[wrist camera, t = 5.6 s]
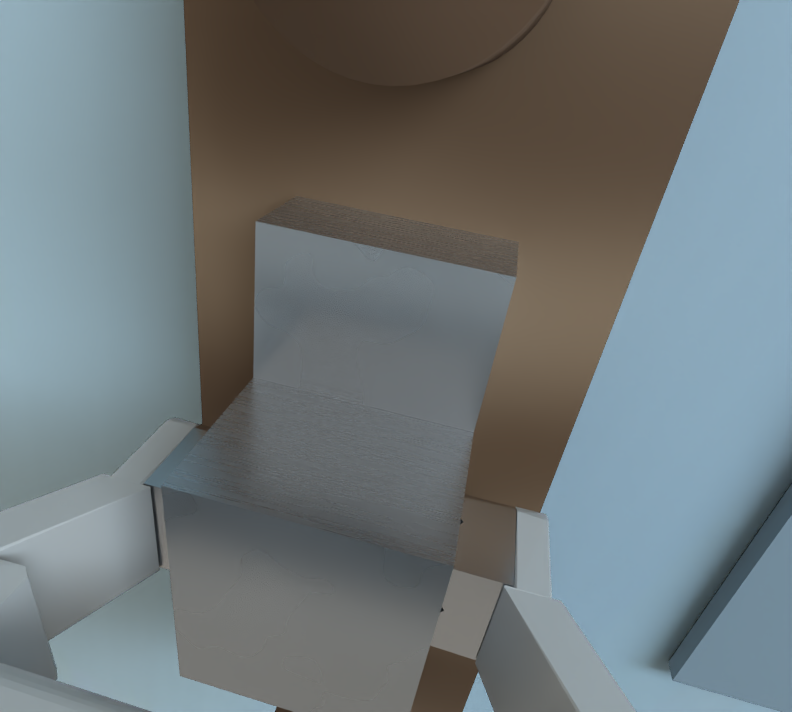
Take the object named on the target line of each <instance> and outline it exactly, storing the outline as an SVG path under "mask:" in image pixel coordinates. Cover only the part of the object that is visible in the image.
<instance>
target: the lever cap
mask: <svg viewBox="0 0 792 712" xmlns="http://www.w3.org/2000/svg"><path fill="white" fill-rule="evenodd" d="M518 245H519V242H516V241H511V240H506V239H501V238H497V237H492V236H487V235H482V234H477V233H472V232H468V231H463V230H458V229H453V228H448V227H444V226H439V225H434V224H429V223H424V222H419V221H415V220H410V219H405V218H400V217H395V216H391V215H386V214H381V213H376V212H371V211H366V210H362V209H357V208H352V207H347V206H342V205H338V204H333V203H328V202H323V201H318V200H313V199H309V198H304V197H299V196H296V197H294V198H293V199H291V200H289V201H288V202H286V203H285V204H283V205H281V206H280V207H278V208H276V209H275V210H273V211H272V212H270V213H268V214H267V215H265V216H263V217H262V218H260V219H259V220H257V221H256V228H255V296H254V365H253V378H252V380H251V381H250V382H249V383H248V384H247V386H246V387H245V388H244V389H243V390H242V391H241V393H240V394H239V395H238V396H237V397H236V398H235V400H234V401H233V402H232V403H231V404H230V405H229V407H228V408H227V409H226V410H225V411H224V413H223V414H222V415H221V416H220V417H219V418H218V420H217V421H216V422H215V423H214V424H213V425H212V427H211V428H210V429H209V430H208V431H207V432H206V434H205V435H204V436H203V437H202V438H201V440H200V441H199V442H198V443H197V444H196V445H195V447H194V448H193V449H192V450H191V451H190V452H189V454H188V455H187V456H186V457H185V458H184V460H183V461H182V462H181V463H180V464H179V465H178V467H177V468H176V469H175V470H174V471H173V472H172V474H171V475H170V476H169V477H168V478H167V479H166V481H165V482H164V483H163V484H162V485H161V489H162V499H163V509H164V519H165V529H166V539H167V549H168V559H169V569H170V579H171V590H172V600H173V610H174V620H175V630H176V640H177V650H178V660H179V670H180V676H182V677H185V678H189V679H192V680H195V681H198V682H201V683H204V684H207V685H211V686H214V687H217V688H220V689H223V690H226V691H230V692H233V693H236V694H239V695H242V696H245V697H248V698H252V699H255V700H258V701H261V702H264V703H267V704H271V705H274V706H277V707H280V708H283V709H286V710H289V711H293V712H410V711H411V708H412V705H413V701H414V698H415V695H416V691H417V688H418V684H419V681H420V678H421V674H422V671H423V668H424V664H425V661H426V658H427V654H428V651H429V648H430V644H431V641H432V638H433V634H434V631H435V628H436V624H437V621H438V618H439V614H440V611H441V608H442V604H443V601H444V598H445V594H446V591H447V587H448V584H449V581H450V577H451V574H452V571H453V567H454V561H455V555H456V548H457V541H458V535H459V528H460V521H461V515H462V508H463V501H464V495H465V488H466V481H467V475H468V468H469V461H470V454H471V448H472V441H473V434H474V430H475V426H476V423H477V419H478V415H479V412H480V408H481V404H482V401H483V397H484V393H485V390H486V386H487V383H488V379H489V375H490V372H491V368H492V364H493V361H494V357H495V354H496V350H497V346H498V343H499V339H500V335H501V332H502V328H503V324H504V321H505V317H506V314H507V310H508V306H509V303H510V299H511V295H512V292H513V288H514V285H515V281H516V277H517V261H518Z"/></svg>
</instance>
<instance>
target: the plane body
mask: <svg viewBox="0 0 792 712" xmlns="http://www.w3.org/2000/svg"><path fill="white" fill-rule="evenodd" d="M738 3H739V0H184V19H185V42H186V65H187V87H188V110H189V132H190V155H191V177H192V200H193V223H194V245H195V268H196V290H197V313H198V335H199V358H200V380H201V403H202V425H206V426H209V427H212V425H213V424H214V423H215V422H216V421H217V420H218V418H219V417H220V416H221V415H222V414H223V413H224V411H225V410H226V409H227V408H228V407H229V405H230V404H231V403H232V402H233V401H234V400H235V398H236V397H237V396H238V395H239V394H240V393H241V391H242V390H243V389H244V388H245V387H246V386H247V384H248V383H249V382H250V381H251V380H252V378H253V365H254V296H255V228H256V221H257V220H259V219H260V218H262V217H263V216H265V215H267V214H268V213H270V212H272V211H273V210H275V209H276V208H278V207H280V206H281V205H283V204H285V203H286V202H288V201H289V200H291V199H293V198H294V197H296V196H299V197H304V198H309V199H313V200H318V201H323V202H328V203H333V204H338V205H342V206H347V207H352V208H357V209H362V210H366V211H371V212H376V213H381V214H386V215H391V216H395V217H400V218H405V219H410V220H415V221H419V222H424V223H429V224H434V225H439V226H444V227H448V228H453V229H458V230H463V231H468V232H472V233H477V234H482V235H487V236H492V237H497V238H501V239H506V240H511V241H516V242H519V245H518V261H517V277H516V281H515V285H514V288H513V292H512V295H511V299H510V303H509V306H508V310H507V314H506V317H505V321H504V324H503V328H502V332H501V335H500V339H499V343H498V346H497V350H496V354H495V357H494V361H493V364H492V368H491V372H490V375H489V379H488V383H487V386H486V390H485V393H484V397H483V401H482V404H481V408H480V412H479V415H478V419H477V423H476V426H475V430H474V434H473V441H472V448H471V454H470V461H469V468H468V475H467V481H466V488H465V494H466V495H470V496H474V497H478V498H482V499H486V500H490V501H493V502H497V503H501V504H505V505H509V506H513V507H519V508H523V509H527V510H531V511H535V512H539V513H540V511H541V509H542V506H543V503H544V501H545V498H546V496H547V493H548V491H549V488H550V485H551V483H552V480H553V478H554V475H555V473H556V470H557V467H558V465H559V462H560V460H561V457H562V455H563V452H564V449H565V447H566V444H567V442H568V439H569V437H570V434H571V432H572V429H573V426H574V424H575V421H576V419H577V416H578V414H579V411H580V408H581V406H582V403H583V401H584V398H585V396H586V393H587V390H588V388H589V385H590V383H591V380H592V378H593V375H594V372H595V370H596V367H597V365H598V362H599V360H600V357H601V355H602V352H603V349H604V347H605V344H606V342H607V339H608V337H609V334H610V331H611V329H612V326H613V324H614V321H615V319H616V316H617V313H618V311H619V308H620V306H621V303H622V301H623V298H624V295H625V293H626V290H627V288H628V285H629V283H630V280H631V277H632V275H633V272H634V270H635V267H636V265H637V262H638V260H639V257H640V254H641V252H642V249H643V247H644V244H645V242H646V239H647V236H648V234H649V231H650V229H651V226H652V224H653V221H654V218H655V216H656V213H657V211H658V208H659V206H660V203H661V200H662V198H663V195H664V193H665V190H666V188H667V185H668V183H669V180H670V177H671V175H672V172H673V170H674V167H675V165H676V162H677V159H678V157H679V154H680V152H681V149H682V147H683V144H684V141H685V139H686V136H687V134H688V131H689V129H690V126H691V123H692V121H693V118H694V116H695V113H696V111H697V108H698V106H699V103H700V100H701V98H702V95H703V93H704V90H705V88H706V85H707V82H708V80H709V77H710V75H711V72H712V70H713V67H714V64H715V62H716V59H717V57H718V54H719V52H720V49H721V46H722V44H723V41H724V39H725V36H726V34H727V31H728V28H729V26H730V23H731V21H732V18H733V16H734V13H735V11H736V8H737V5H738ZM475 662H476V660H473V659H470V658H467V657H464V656H461V655H458V654H455V653H452V652H449V651H446V650H443V649H439V648H436V647H433V646H430V648H429V651H428V654H427V658H426V661H425V664H424V668H423V671H422V674H421V678H420V681H419V684H418V688H417V691H416V695H415V698H414V701H413V705H412V708H411V711H410V712H462V711H463V709H464V706H465V704H466V701H467V699H468V696H469V693H470V691H471V688H472V686H473V683H474V681H475V678H476V675H477V673H478V669H477V667H476V664H475ZM275 712H293V711H289V710H286V709H283V708H280V707H277V708H276V710H275Z"/></svg>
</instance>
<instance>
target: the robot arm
mask: <svg viewBox="0 0 792 712" xmlns="http://www.w3.org/2000/svg"><path fill="white" fill-rule="evenodd" d="M210 428H211V427H209V426H206V425H202V424H201V425H199V424H196V423H193V422H189V421H186V420H183V419H179V418H176V417H174V418H172V419H169V420H167V421H165V422H164V423H163V424H162V425H161V426H160V427H159V428H158V429H157V430H156V431H155V432H154V433H153V434H152V435H151V436H150V437H149V438H148V439H147V440H146V441H145V442H144V443H143V444H142V445H141V446H140V447H139V448H138V449H137V450H136V451H135V452H134V453H133V454H132V455H131V456H130V457H129V458H128V459H127V460H126V461H125V462H124V463H123V464H122V465H121V466H120V467H119V468H118V469H117V470H116V471H115V472H114V473H113V474H112V475H111V476H110V475H106V474H101V475H98V476H95V477H92V478H90V479H87V480H84V481H82V482H79V483H76V484H73V485H71V486H68V487H65V488H63V489H60V490H57V491H54V492H52V493H49V494H46V495H44V496H41V497H38V498H35V499H33V500H30V501H27V502H25V503H22V504H19V505H16V506H14V507H11V508H8V509H6V510H3V511H0V712H151V711H148V710H145V709H142V708H139V707H136V706H133V705H130V704H127V703H124V702H121V701H117V700H114V699H111V698H108V697H105V696H102V695H99V694H96V693H93V692H90V691H87V690H84V689H81V688H78V687H75V686H72V685H69V684H65V683H62V682H59V681H56V680H57V668H56V664H55V661H54V658H53V655H52V651H51V648H50V645H49V640H50V639H52V638H53V637H55V636H57V635H58V634H60V633H61V632H63V631H65V630H66V629H68V628H69V627H71V626H72V625H74V624H76V623H77V622H79V621H80V620H82V619H83V618H85V617H87V616H88V615H90V614H91V613H93V612H94V611H96V610H98V609H99V608H101V607H102V606H104V605H105V604H107V603H109V602H110V601H112V600H113V599H115V598H116V597H118V596H120V595H121V594H123V593H124V592H126V591H127V590H129V589H131V588H132V587H134V586H135V585H137V584H139V583H140V582H142V581H143V580H145V579H146V578H148V577H150V576H151V575H153V574H154V573H156V572H157V571H159V567H161V568H165V569H169V559H168V549H167V539H166V529H165V519H164V509H163V499H162V489H161V485H162V484H163V483H164V482H165V481H166V479H167V478H168V477H169V476H170V475H171V474H172V472H173V471H174V470H175V469H176V468H177V467H178V465H179V464H180V463H181V462H182V461H183V460H184V458H185V457H186V456H187V455H188V454H189V452H190V451H191V450H192V449H193V448H194V447H195V445H196V444H197V443H198V442H199V441H200V440H201V438H202V437H203V436H204V435H205V434H206V432H207V431H208V430H209V429H210ZM169 570H170V569H169ZM430 646H433V647H436V648H439V649H443V650H446V651H449V652H452V653H455V654H458V655H461V656H464V657H467V658H470V659H473V660H476V662H475V664H476V667H477V669H478V672H479V674H480V677H481V679H482V682H483V684H484V687H485V689H486V692H487V695H488V697H489V700H490V702H491V705H492V707H493V710H494V712H636V711H635V709H634V708H633V706H632V705H631V703H630V702H629V700H628V699H627V697H626V696H625V694H624V693H623V691H622V690H621V688H620V687H619V685H618V684H617V682H616V681H615V680H614V678H613V677H612V675H611V674H610V672H609V671H608V669H607V668H606V666H605V665H604V663H603V662H602V660H601V659H600V657H599V656H598V654H597V653H596V651H595V650H594V648H593V647H592V645H591V644H590V643H589V641H588V640H587V638H586V637H585V635H584V634H583V632H582V631H581V629H580V628H579V626H578V625H577V623H576V622H575V620H574V619H573V617H572V616H571V614H570V613H569V611H568V610H567V608H566V607H565V606H564V604H563V603H562V601H559V600H556V599H553V598H552V589H551V566H550V543H549V520H548V517H547V516H546V514H543V513H539V512H535V511H531V510H527V509H523V508H519V507H513V506H509V505H505V504H501V503H497V502H493V501H490V500H486V499H482V498H478V497H474V496H470V495H466V494H465V495H464V501H463V508H462V515H461V521H460V528H459V535H458V541H457V548H456V555H455V561H454V567H453V571H452V574H451V577H450V581H449V584H448V587H447V591H446V594H445V598H444V601H443V604H442V608H441V611H440V614H439V618H438V621H437V624H436V628H435V631H434V634H433V638H432V641H431V644H430Z"/></svg>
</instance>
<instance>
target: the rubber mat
mask: <svg viewBox="0 0 792 712" xmlns="http://www.w3.org/2000/svg"><path fill="white" fill-rule="evenodd" d="M669 667H670V671H671V676H672V680H673V681H676V682H680V683H683V684H686V685H690V686H693V687H697V688H700V689H704V690H707V691H711V692H714V693H718V694H721V695H725V696H728V697H732V698H735V699H739V700H742V701H746V702H749V703H753V704H756V705H760V706H763V707H767V708H770V709H774V710H777V711H781V712H792V484H791V485H790V487H789V488H788V490H787V491H786V493H785V494H784V496H783V497H782V498H781V500H780V501H779V503H778V504H777V506H776V507H775V509H774V510H773V512H772V513H771V514H770V516H769V517H768V519H767V520H766V522H765V523H764V525H763V526H762V527H761V529H760V530H759V532H758V533H757V535H756V536H755V538H754V539H753V540H752V542H751V543H750V545H749V546H748V548H747V549H746V551H745V552H744V553H743V555H742V556H741V558H740V559H739V561H738V562H737V564H736V565H735V566H734V568H733V569H732V571H731V572H730V574H729V575H728V577H727V578H726V580H725V581H724V582H723V584H722V585H721V587H720V588H719V590H718V591H717V593H716V594H715V595H714V597H713V598H712V600H711V601H710V603H709V604H708V606H707V607H706V608H705V610H704V611H703V613H702V614H701V616H700V617H699V619H698V620H697V621H696V623H695V624H694V626H693V627H692V629H691V630H690V632H689V633H688V635H687V636H686V637H685V639H684V640H683V642H682V643H681V645H680V646H679V648H678V649H677V650H676V652H675V653H674V655H673V656H672V658H671V659H670V661H669Z"/></svg>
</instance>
